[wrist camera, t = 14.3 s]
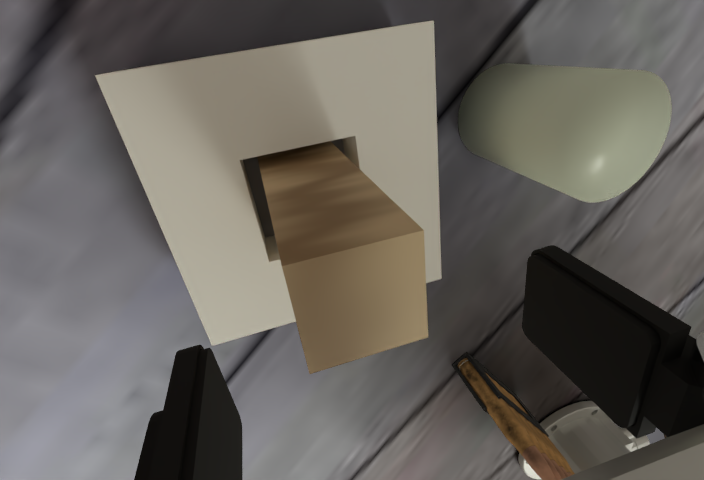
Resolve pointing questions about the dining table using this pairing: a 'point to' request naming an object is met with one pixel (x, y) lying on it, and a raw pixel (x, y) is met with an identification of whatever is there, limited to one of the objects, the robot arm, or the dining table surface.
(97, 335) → the dining table surface
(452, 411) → the dining table surface
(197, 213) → the socket block
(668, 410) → the robot arm
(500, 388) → the ammunition clip
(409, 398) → the dining table surface
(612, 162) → the pale green rounded piece
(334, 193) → the square peg
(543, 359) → the dining table surface
